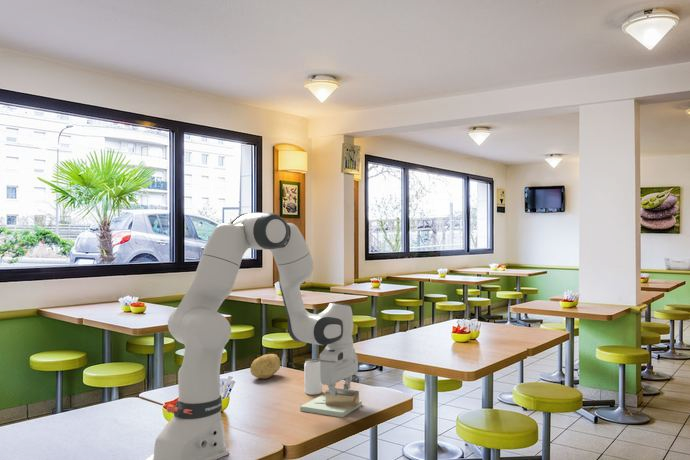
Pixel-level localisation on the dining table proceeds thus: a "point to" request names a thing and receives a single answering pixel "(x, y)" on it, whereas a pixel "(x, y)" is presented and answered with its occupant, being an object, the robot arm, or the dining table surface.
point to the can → (312, 377)
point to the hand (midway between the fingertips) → (340, 392)
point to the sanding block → (343, 398)
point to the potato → (265, 366)
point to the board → (326, 407)
